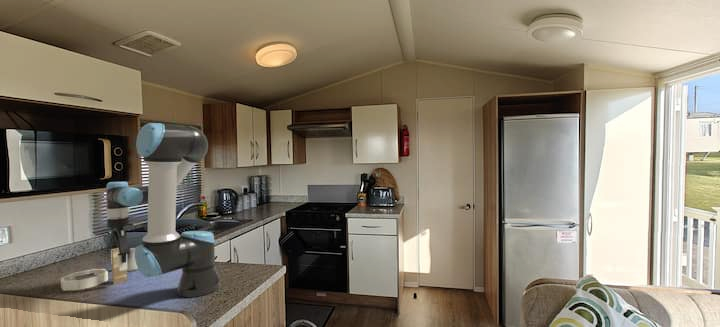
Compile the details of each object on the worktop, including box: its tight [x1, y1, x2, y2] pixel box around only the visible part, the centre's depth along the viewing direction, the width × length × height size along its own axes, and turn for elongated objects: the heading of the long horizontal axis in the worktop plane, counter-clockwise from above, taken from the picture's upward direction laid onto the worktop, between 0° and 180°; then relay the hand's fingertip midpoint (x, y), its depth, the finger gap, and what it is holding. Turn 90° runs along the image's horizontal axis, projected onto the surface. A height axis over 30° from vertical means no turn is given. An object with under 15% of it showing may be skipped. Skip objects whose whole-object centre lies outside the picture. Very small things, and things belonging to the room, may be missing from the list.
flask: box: [127, 247, 139, 272], centre depth 155 cm, size 7×7×10 cm
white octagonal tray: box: [60, 268, 109, 292], centre depth 137 cm, size 15×15×4 cm
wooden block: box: [111, 249, 128, 285], centre depth 138 cm, size 2×4×14 cm, turn 139°
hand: (119, 266), depth 138 cm, fingers open, 13 cm apart
